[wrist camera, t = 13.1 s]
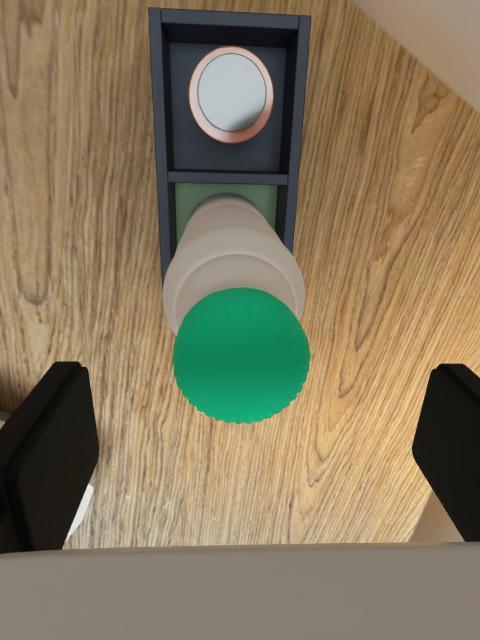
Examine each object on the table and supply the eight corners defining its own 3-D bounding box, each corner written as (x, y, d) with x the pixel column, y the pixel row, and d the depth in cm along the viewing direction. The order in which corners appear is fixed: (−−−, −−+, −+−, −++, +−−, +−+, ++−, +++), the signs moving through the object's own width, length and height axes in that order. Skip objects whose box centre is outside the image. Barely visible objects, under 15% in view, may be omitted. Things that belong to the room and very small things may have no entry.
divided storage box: (170, 283, 39) (163, 305, 33) (160, 33, 31) (147, 6, 25) (278, 285, 39) (288, 306, 34) (295, 39, 31) (311, 15, 26)
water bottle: (175, 252, 36) (105, 425, 13) (204, 178, 34) (178, 231, 11) (246, 281, 38) (291, 481, 15) (278, 211, 35) (391, 320, 12)
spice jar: (195, 72, 31) (185, 37, 22) (260, 75, 31) (279, 42, 22) (196, 144, 33) (187, 141, 24) (258, 146, 33) (274, 144, 24)
